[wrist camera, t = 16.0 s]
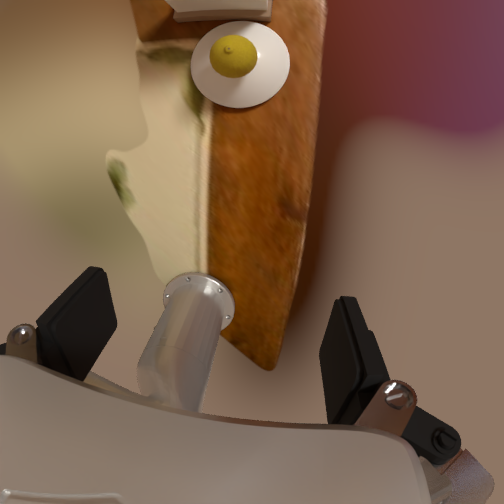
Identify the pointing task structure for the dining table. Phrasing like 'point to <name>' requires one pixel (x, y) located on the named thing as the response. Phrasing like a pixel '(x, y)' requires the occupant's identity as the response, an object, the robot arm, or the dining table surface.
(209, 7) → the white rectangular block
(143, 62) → the dining table surface
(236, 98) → the white round disc
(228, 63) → the lemon
